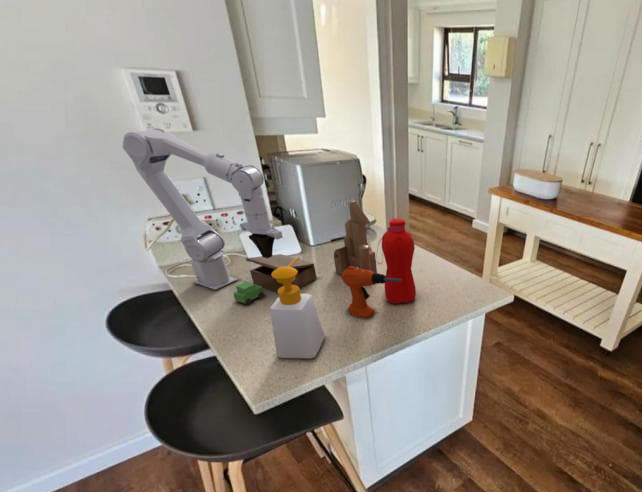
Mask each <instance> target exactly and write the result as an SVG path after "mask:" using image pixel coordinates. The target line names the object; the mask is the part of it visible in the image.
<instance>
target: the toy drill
mask: <svg viewBox="0 0 642 492" xmlns="http://www.w3.org/2000/svg"><path fill="white" fill-rule="evenodd" d="M341 280H342V281H343V284H344V285H346V286H347V287H348V288H349V290H350V293H351V303H350V304H349V305H348V313H349V314H350V315H351V316H354V317H358V318H362V319H369V318H371V317H372V316H374V315H375V309H374V307H372V306H370V305H368V303H367V300H368V299H369V298H370V297H371V296H370V295H371V294H369V293H368V292H367V290H366V288H365V287H367V286H368V287H369V286H373V285H374V286H375V285H376V284H377V285H378V284H383V285H384V284H385V282H386V281H387V282H401V281H402V280H401V279H395V278H388V277H386V274H381V273H378V272H377V273H376V272H373V271H371V270H363V269H359V268H358V267H356V268H355V267H353V266H350V267H348V268H347V269H346V270H345V271H344V272H343V273H342V275H341Z"/></svg>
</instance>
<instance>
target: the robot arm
mask: <svg viewBox="0 0 642 492" xmlns="http://www.w3.org/2000/svg"><path fill="white" fill-rule="evenodd" d="M122 148H123V150H124V152H125V153H126V154H127V156H128V157H129V158H130V160H131V161H132V163H133V165H134V167H135V170H136V171H137V173H138V174H139V176H140V177H141V178H142V179H143V180H144V182H145V184H146V185H147V186H148V187H149V188H150V190H151V191H152V193H153V194H154V195H155V196H156V198H157V199H158V200H159V202H160V203H161V204H162V206H163V207H164V208H165V209H166V211H167V213H169V215H170V216H171V217H172V219H173V220H174V222H175V223H176V224H177V225H178V227H179V228H180V230H181V237H180V242H181V243H182V245H183V247H184V250H185V253H186V254H187V255H188V257H190V258H191V261H190V262H191V263H190V264H191V267H192V270H193V273H194V274H195V277H196V280H195V281H194V283H195V284H197V285H200V286H202V287H205V288H208V289H211V290H214V291H216V290H219V289H221V288H223V287H226V286H228V285H229V284H232V283H234V282H236V281H238V278H237V277H234V276H231V275H230V272H229V270H228V266H227V263H226V260H225V257H224V255H223V253H224V251H223V249H225V246H226V243H225V240H224V238H223V236H222V235H221V234H219V233H218V232H217V231H216V230H215V229H214V228H213V226H212V225H209V224H206V223H204V222H202V220H201V219H200V218H199V217H198V215H197V214H196V212H195V211H194V209H192V207H191V206H190V204H189V203H188V202H187V200H186V199H185V197H184V196H183V194H182V193H181V192H180V190H179V189H178V188H177V186H176V185H175V184H174V182H173V181H172V179H171V178H170V176H169V175H168V173H167V172H166V170H165V167H166V163H167V161H168V160H169V158H170V157H171V155H173V156H176V157H178V158H181V159H183V160H186V161H187V162H191V163H193V164H196V165H198V166H201V167H204V169H205V171H206V172H207V173H208V174H209V175H211V176H214V177H215V178H217V179H221V180H223V181H224V182H227V183H229V184H231V185H232V187H233V188H234V189H235V190H236V191H237V193H238V196H239V197H240V200H241V201H240V202H241V204H242V208H243V211H244V215H245V219H246V221H245V222H241V223H239V227H240V230H241V231H243V232H244V231H247V232H248V233H250V235H248V239H249V240H250V241H251V242H252V243H253V244H254V245H255V247H256V248H257V249H258V252H259V253H260V256H263V257H264V258H270V257H272V255H273V249H274V242H275V240H276V241H277V240H280V239H282V238H284V237H283V232H282V230H279V229H277V228H275V227H274V226H275V225H274V223H271V221H270V216H269V212H268V209H267V204H266V201H265V196H264V193H263V192H264V191H263V188H262V187H263V185H264V182H265V179H264V175H263V173H262V172H261V170H260V169H259V168H258V167H256V166H254V165H253V164H251V165H250V164H249V165H243V163H242V162H240V161H238V162H236V161H234V160H232V159H230V158H228V157H226V156H225V154H224V153H221V152H212V153H207V152H205V151H202V149H199V148H197V147H195V146H193V145H191V144H189V143H187V142H186V141H183V140H182V139H180V138H178V137H176V136H175V135H174V134H173V133H172V132H168V131H165V130H164V129H162V128H159V127H158V128H157V127H155V128H152V129H147V130H141V131H140V130H139V131H129V132H126V133H125V134H124V136H123V141H122Z"/></svg>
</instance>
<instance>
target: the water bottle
mask: <svg viewBox="0 0 642 492" xmlns="http://www.w3.org/2000/svg"><path fill="white" fill-rule="evenodd" d="M388 225H389V227H387V230H386V231H385V232H384V233H383V235H382V237H381V238H380V239H379V242H378V245H377V247H379V245H380V242H381V252H382V255H383V258H384V260H385V264H386V270H385V276H386V277H388V278H395V279H401V280H402V281H401V282H387V281H386V282H385V283H384V295H385V299H386V301H387V302H389V303H391V304H405V303H406V304H407V303H411V302H413V301H415V298H416V295H417V290H416V284H415V280H414V276H413V270H412V265H413V258H414V253H415V248H416V247H415V240H414V238H413V236H412V234H411V232H410V231H409V230H407V229H406V225H408V223H407V222H406V221H405V219H404V218H399V217H394V218H391V219H390V220H389V223H388ZM378 250H379V248H377V249H376V252H378ZM384 260H382V261H381V262H380V263H379V261H378V260H376V263H377V264H378V265H382V264H383V262H384Z"/></svg>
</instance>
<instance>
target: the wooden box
mask: <svg viewBox="0 0 642 492" xmlns="http://www.w3.org/2000/svg"><path fill="white" fill-rule="evenodd" d="M274 270H276V269H272V268H269V267H266V266H262V265H259V266H257V267H255V268H252V269H250V270H249V272H250V276H251V279H252V284H255V285H258V286H261V287H263V288H265V289H269V290H271V291H275V292H277V293H278V289H279V288H280V287H283V286H284V285H283V283H279V282H277V280H276V279H275V278H273V277H272V276H271V274H272V272H273V271H274ZM296 270H297V271H298V273H297V275H295V280H294V281H292V282H291V285H296V286H298V287H299V289H301V288H303V287H305V286H307V285H309V284H310V283H312V282H314V281H315V280H317V272H316V267H315V265H314V266H310V267H304V268H298V269H296Z"/></svg>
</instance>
